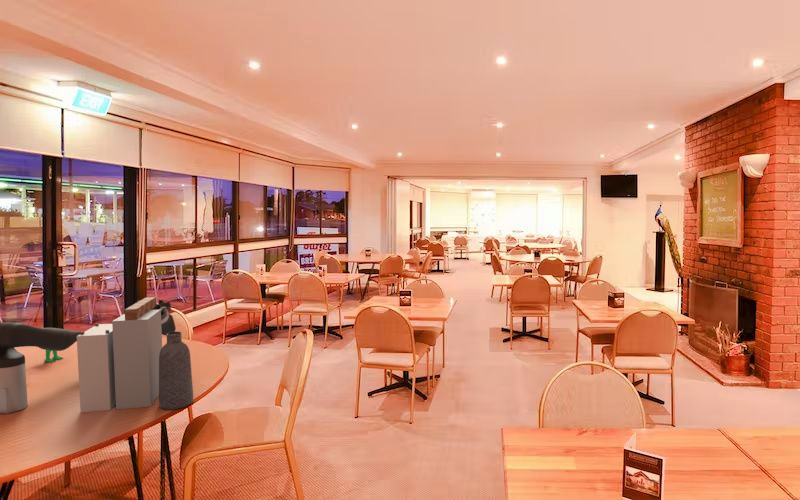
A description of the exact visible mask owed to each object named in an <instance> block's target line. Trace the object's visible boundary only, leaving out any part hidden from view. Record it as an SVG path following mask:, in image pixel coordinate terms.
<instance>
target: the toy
mask: <svg viewBox="0 0 800 500" xmlns="http://www.w3.org/2000/svg"><path fill="white" fill-rule="evenodd" d="M51 352H52V356H53V357H50V356H51ZM63 359H64V357H62V356H59V355H58V351H51V350H45V359H44V360H43V362H46V363H53V362H56V360H63Z"/></svg>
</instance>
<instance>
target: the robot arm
mask: <svg viewBox="0 0 800 500" xmlns="http://www.w3.org/2000/svg"><path fill="white" fill-rule="evenodd" d="M139 301H141V300H140V299H138V300H137V301H136V302H135V303H137V302H139ZM151 310H161V327H162V336H166V337H167V333H169V332H176V329H177V328H176V324H175V320H174V317H173V315H172V314H170V313H169V312H172V303H171V302H169V301H168V302H167V301H164V300H163V299H162V298H160V299H158V302H156V307H154V308H153V309H151ZM81 331H82V330H73V329H64V328H58V327H37V326H34V325H30V324H26V323H21V322H8V321H7V322H5V321H4V322H3V321H2V322H0V414H5V415H8V414H10V413H14V412H18V411H21V410H24V409H26V408H27V407H28V405H29V400H28V388H27V387H28V386H27V384H28V383H27V372H26V371H27V368H26V357H25V355H24V354H23V353H21V352H19V351H18V350H17V349H16V348H21V347H22V348H23V347H25V348H26V347H35V348H39V349H41V350H45V351H46V350H51V352H52V351H57V352H61V351H65V350H67V349H69V348H71V346H73V345H74V344H75V343H77V336H78V335H80V332H81ZM83 331H84V332H85V331H86V330H83Z"/></svg>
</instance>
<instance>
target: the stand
mask: <svg viewBox="0 0 800 500" xmlns="http://www.w3.org/2000/svg"><path fill="white" fill-rule="evenodd" d="M111 322H112V323H102V324H101V323H98V322H95V323H94V326H92V327H91V328H88V329H87V330H80V331H81V332H80V335H78V336H77V341H76V347H77V348H76V349H77V370H78V387H79V388H78V391H79V407H80V409H79V410H80V411H79V412H80V413H92V412H93V413H94V412H103V411H111V409H113V408H114V407H115V409H116V410H126V409H136V408H137V409H139V408H146V407H147V408H148V407H152V405H153V404H154V402H155V401H156V400H157V398H159V354H160V351H161V349H162V347H163V335H162V327H161V310H150V311H148V312H147V313H145V314H144V315H143V316H141V317H140V318H138V319H137V320H125V313H124V314H121V315H120V316H118V317H117V318H116V319H114V320H112V321H111ZM84 331H85V332H84Z"/></svg>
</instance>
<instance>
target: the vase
mask: <svg viewBox="0 0 800 500" xmlns="http://www.w3.org/2000/svg"><path fill="white" fill-rule="evenodd" d="M182 340H183V339H182V332H181V331H176V330H175V332H169V333H167V336H166V343H165V344H164V345H162V349H161V351H160V354H159V396H158V406H159V407H160V409H161V410H162V409H163V410H168V411H169V410H170V411H171V410H172V411H173V410H178V409H182V408H186V407H188V406H190V405H192V404H193V402H194V389H193V386H194V385H193V375H192V374H193V373H192V361H191V352H190V351H191V350H190V348H189V346H188V345H187V344H186V343H185V342H184V341H182Z"/></svg>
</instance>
